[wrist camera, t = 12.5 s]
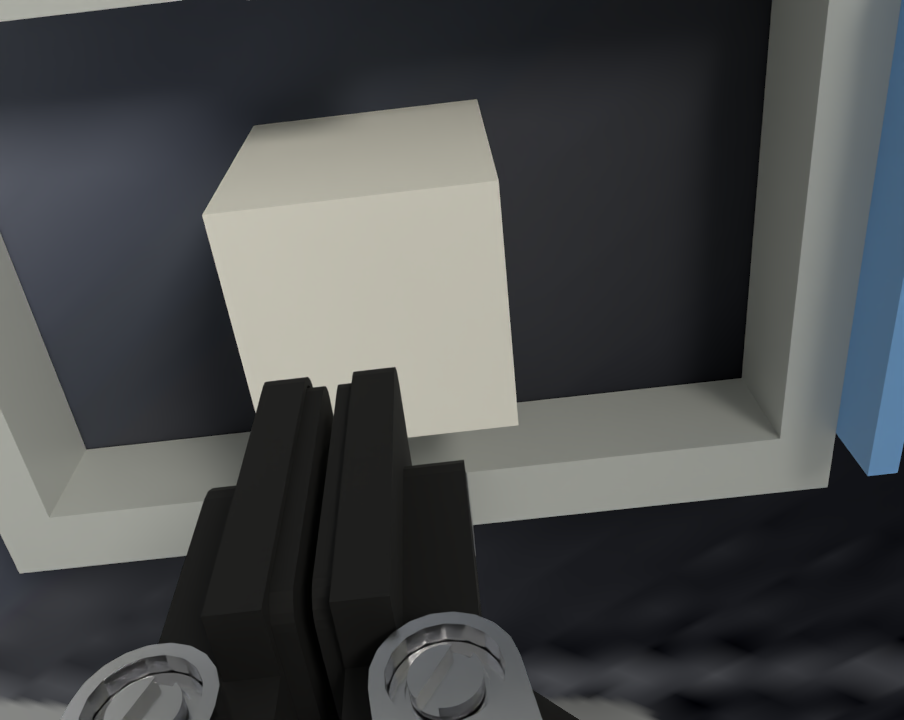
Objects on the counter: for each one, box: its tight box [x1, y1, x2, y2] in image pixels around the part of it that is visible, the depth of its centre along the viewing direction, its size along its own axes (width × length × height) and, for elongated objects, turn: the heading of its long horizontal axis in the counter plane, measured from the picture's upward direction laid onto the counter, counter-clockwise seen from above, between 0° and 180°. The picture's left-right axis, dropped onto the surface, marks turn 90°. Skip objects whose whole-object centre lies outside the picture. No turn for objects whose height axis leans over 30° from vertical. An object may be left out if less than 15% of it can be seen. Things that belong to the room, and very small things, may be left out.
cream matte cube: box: [202, 99, 519, 438], centre depth 16 cm, size 4×4×5 cm
